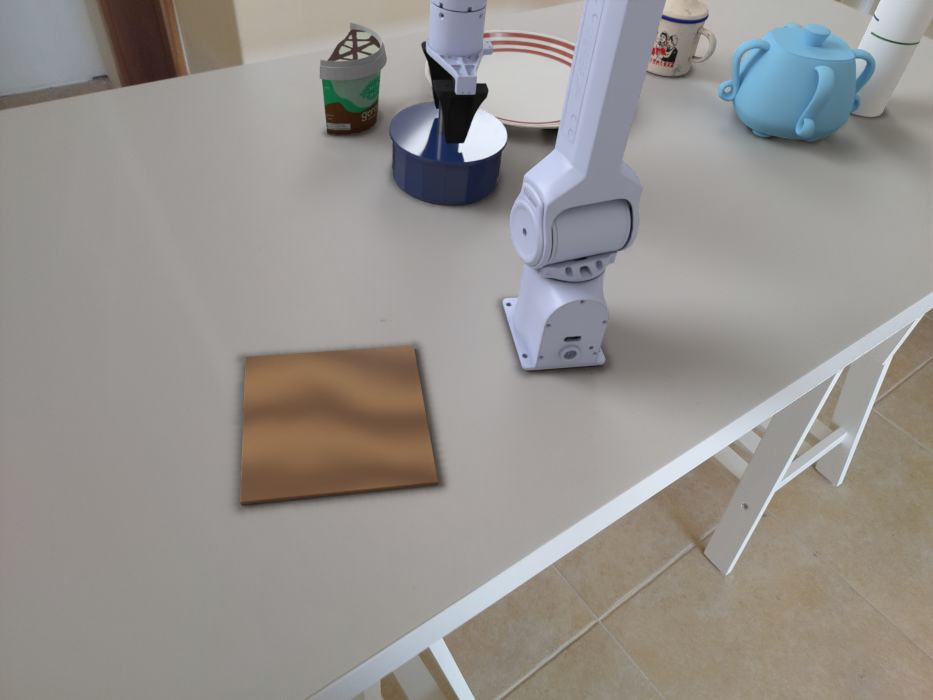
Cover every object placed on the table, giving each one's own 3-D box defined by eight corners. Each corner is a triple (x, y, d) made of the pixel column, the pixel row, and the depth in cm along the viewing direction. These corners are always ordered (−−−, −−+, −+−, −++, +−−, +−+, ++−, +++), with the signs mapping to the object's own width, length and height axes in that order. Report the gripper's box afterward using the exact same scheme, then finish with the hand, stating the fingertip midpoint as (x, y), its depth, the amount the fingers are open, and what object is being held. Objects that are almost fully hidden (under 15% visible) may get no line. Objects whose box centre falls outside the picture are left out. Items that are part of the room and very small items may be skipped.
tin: (507, 203, 86) (513, 162, 82) (399, 206, 83) (400, 165, 79) (486, 145, 94) (490, 106, 90) (387, 147, 92) (388, 107, 88)
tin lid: (518, 170, 82) (523, 132, 79) (396, 172, 79) (396, 134, 76) (493, 109, 91) (497, 73, 88) (383, 110, 89) (383, 73, 85)
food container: (370, 148, 91) (370, 71, 84) (323, 139, 92) (318, 61, 85) (397, 102, 100) (398, 28, 93) (353, 94, 100) (351, 20, 93)
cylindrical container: (872, 95, 114) (964, -84, 96) (889, 118, 109) (990, -67, 91) (827, 91, 114) (911, -90, 96) (843, 114, 109) (934, -72, 91)
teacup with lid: (622, 61, 115) (641, -17, 107) (653, 46, 120) (674, -29, 112) (687, 91, 110) (713, 11, 101) (718, 74, 115) (744, -3, 106)
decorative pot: (789, 166, 97) (836, 66, 87) (697, 111, 106) (731, 14, 96) (858, 136, 105) (908, 41, 95) (767, 87, 113) (805, -5, 103)
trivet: (437, 484, 58) (438, 481, 58) (240, 504, 55) (239, 502, 55) (413, 348, 68) (413, 345, 68) (245, 359, 65) (245, 356, 65)
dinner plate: (624, 155, 95) (630, 132, 93) (413, 132, 95) (414, 108, 92) (608, 61, 114) (613, 40, 112) (433, 42, 114) (435, 20, 112)
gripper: (512, 32, 70) (496, 157, 80) (483, -26, 80) (472, 93, 89) (439, 31, 69) (431, 159, 78) (418, -27, 78) (414, 93, 88)
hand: (449, 124), depth 84 cm, fingers open, 7 cm apart
